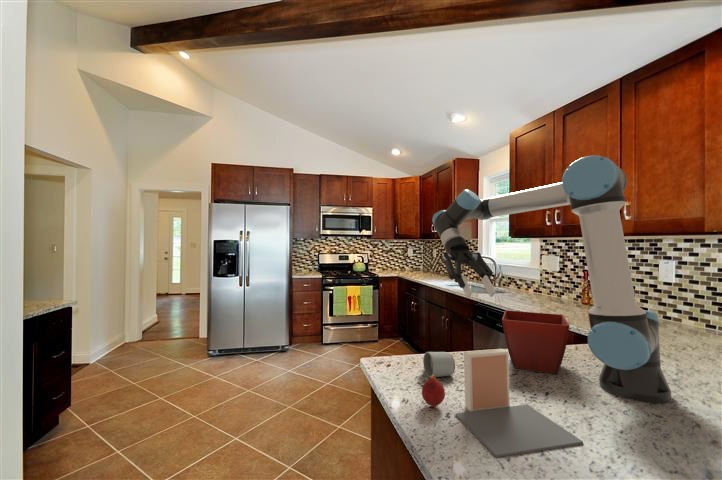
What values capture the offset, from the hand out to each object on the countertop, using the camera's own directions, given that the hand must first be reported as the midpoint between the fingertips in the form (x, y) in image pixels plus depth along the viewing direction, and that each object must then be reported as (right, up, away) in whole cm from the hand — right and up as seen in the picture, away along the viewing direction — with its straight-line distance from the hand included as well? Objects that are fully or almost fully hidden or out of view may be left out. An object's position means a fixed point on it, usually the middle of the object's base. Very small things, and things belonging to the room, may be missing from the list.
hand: (481, 294), depth 95 cm
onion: (-18, -26, -16) cm, 36 cm away
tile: (-5, -26, -16) cm, 31 cm away
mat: (-3, -26, -26) cm, 36 cm away
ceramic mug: (-12, -27, +6) cm, 31 cm away
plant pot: (+23, -27, +12) cm, 38 cm away
